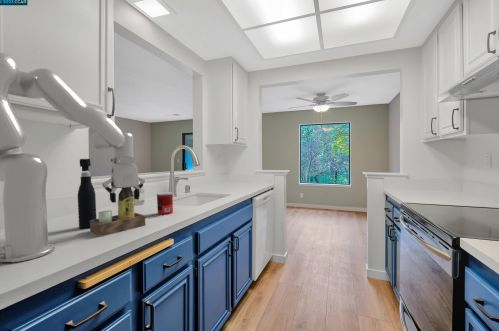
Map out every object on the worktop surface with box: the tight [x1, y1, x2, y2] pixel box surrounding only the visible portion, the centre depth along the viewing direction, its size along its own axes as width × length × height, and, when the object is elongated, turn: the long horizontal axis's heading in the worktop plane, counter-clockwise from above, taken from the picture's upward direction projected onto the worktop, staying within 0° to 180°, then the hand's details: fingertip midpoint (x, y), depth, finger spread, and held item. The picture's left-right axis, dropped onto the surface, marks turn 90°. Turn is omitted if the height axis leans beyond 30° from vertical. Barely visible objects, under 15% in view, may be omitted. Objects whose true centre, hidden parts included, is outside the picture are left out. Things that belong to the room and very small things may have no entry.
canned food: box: [156, 191, 174, 216], centre depth 125 cm, size 8×8×11 cm
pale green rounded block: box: [98, 210, 113, 224], centre depth 95 cm, size 5×5×7 cm
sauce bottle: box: [117, 187, 135, 220], centre depth 101 cm, size 7×6×20 cm
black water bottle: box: [77, 158, 97, 230], centre depth 101 cm, size 6×6×30 cm
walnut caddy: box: [89, 212, 146, 237], centre depth 99 cm, size 17×12×4 cm, turn 142°
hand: (125, 200), depth 101 cm, fingers open, 9 cm apart
